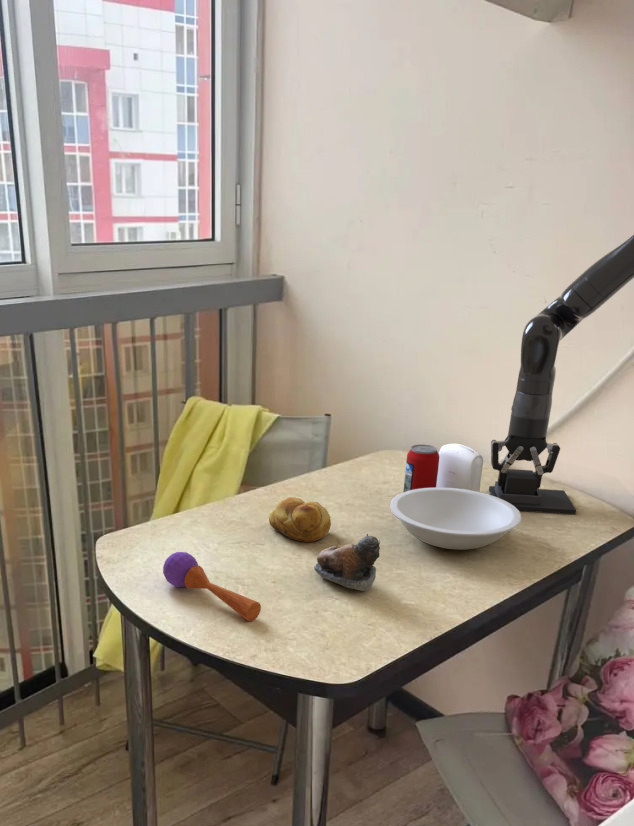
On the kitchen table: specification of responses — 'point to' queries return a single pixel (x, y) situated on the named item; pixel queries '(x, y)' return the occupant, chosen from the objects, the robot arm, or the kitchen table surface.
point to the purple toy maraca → (205, 584)
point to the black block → (520, 482)
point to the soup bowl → (454, 516)
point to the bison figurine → (350, 563)
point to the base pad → (537, 500)
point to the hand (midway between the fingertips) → (518, 488)
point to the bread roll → (300, 519)
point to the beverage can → (421, 467)
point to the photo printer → (459, 467)
